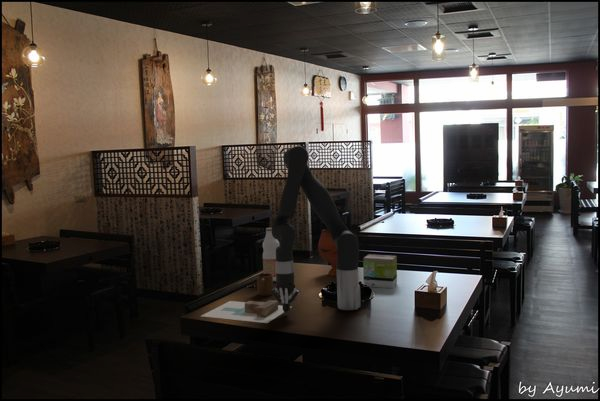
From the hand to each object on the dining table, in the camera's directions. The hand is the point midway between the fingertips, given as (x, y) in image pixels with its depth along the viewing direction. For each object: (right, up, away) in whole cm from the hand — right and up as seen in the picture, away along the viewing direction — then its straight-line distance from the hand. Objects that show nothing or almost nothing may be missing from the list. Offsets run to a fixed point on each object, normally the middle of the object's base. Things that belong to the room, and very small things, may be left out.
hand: (286, 311), depth 225 cm
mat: (-17, -2, +8) cm, 19 cm away
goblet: (+26, +6, +73) cm, 77 cm away
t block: (-12, -1, +5) cm, 13 cm away
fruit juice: (-9, +4, +65) cm, 66 cm away
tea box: (+46, +4, +44) cm, 64 cm away
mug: (-11, +1, +34) cm, 35 cm away
